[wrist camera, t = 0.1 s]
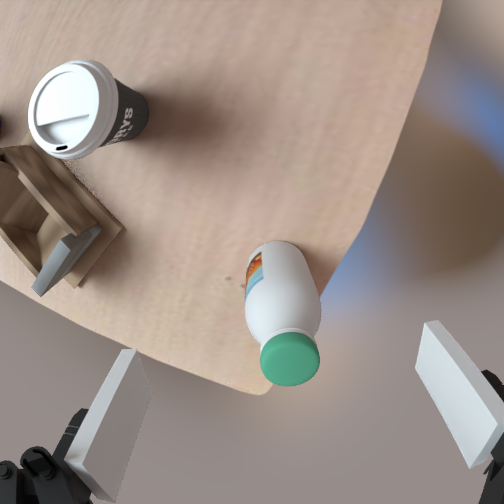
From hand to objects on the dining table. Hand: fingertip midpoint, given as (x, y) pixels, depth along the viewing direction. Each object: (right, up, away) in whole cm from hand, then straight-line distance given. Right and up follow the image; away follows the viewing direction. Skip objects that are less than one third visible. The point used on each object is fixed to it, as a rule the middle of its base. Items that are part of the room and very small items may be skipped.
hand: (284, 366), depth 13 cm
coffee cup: (-17, +22, +22) cm, 36 cm away
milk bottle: (+2, +3, +29) cm, 29 cm away
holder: (-30, +11, +26) cm, 42 cm away
